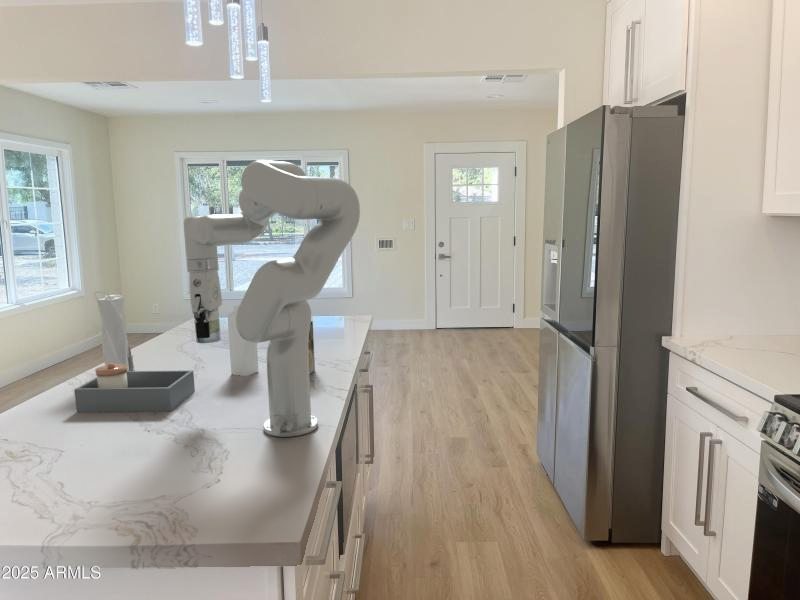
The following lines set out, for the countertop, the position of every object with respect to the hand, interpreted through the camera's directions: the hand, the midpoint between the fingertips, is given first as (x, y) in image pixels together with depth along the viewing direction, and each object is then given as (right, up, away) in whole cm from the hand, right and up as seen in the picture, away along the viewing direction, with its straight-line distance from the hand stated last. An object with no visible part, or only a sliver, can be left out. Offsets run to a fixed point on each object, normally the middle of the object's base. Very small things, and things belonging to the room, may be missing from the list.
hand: (208, 334), depth 147 cm
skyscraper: (-36, -16, +26) cm, 47 cm away
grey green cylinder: (0, -2, 0) cm, 2 cm away
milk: (+1, -14, +33) cm, 36 cm away
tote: (-20, -19, +5) cm, 28 cm away
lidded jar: (-26, -18, +4) cm, 32 cm away
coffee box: (+19, -14, +31) cm, 38 cm away
